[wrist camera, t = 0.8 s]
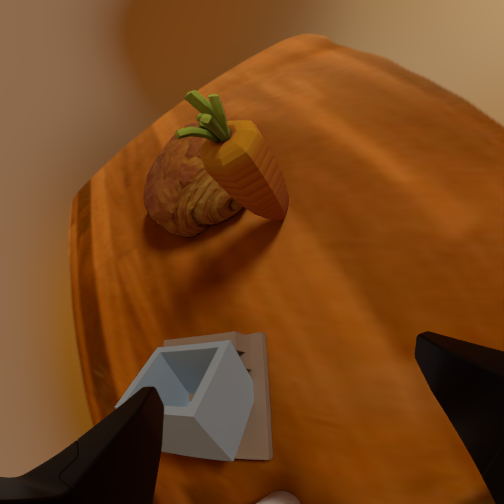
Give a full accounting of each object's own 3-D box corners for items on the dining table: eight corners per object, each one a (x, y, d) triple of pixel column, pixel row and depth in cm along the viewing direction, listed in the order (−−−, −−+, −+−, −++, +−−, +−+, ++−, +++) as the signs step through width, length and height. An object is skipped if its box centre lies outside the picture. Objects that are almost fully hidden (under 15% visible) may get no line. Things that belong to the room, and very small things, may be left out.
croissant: (241, 137, 40) (212, 94, 34) (285, 192, 29) (249, 131, 24) (160, 195, 42) (125, 159, 36) (172, 268, 31) (120, 226, 26)
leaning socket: (273, 457, 19) (212, 485, 12) (182, 450, 22) (107, 458, 15) (266, 334, 24) (206, 306, 17) (180, 344, 27) (110, 322, 20)
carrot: (307, 237, 26) (222, 107, 14) (256, 244, 28) (152, 137, 16) (306, 192, 28) (234, 64, 16) (260, 201, 30) (172, 91, 18)
